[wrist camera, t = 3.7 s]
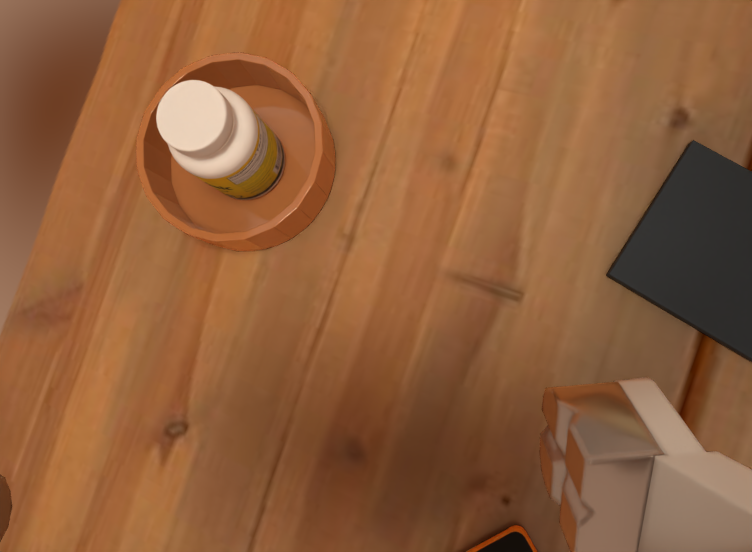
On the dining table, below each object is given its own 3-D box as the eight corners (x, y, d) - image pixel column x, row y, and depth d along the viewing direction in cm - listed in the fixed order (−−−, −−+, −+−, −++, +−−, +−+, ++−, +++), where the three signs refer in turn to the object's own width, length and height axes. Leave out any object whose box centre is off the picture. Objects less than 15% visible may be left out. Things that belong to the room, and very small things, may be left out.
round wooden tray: (228, 51, 46) (203, 20, 42) (369, 135, 44) (359, 111, 40) (135, 193, 46) (100, 177, 42) (273, 284, 44) (252, 277, 40)
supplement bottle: (194, 163, 45) (123, 113, 36) (251, 109, 45) (195, 44, 35) (245, 218, 44) (185, 183, 35) (303, 163, 44) (260, 113, 35)
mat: (688, 143, 42) (693, 139, 41) (837, 224, 40) (845, 221, 39) (605, 275, 41) (608, 274, 41) (751, 362, 40) (757, 362, 39)
